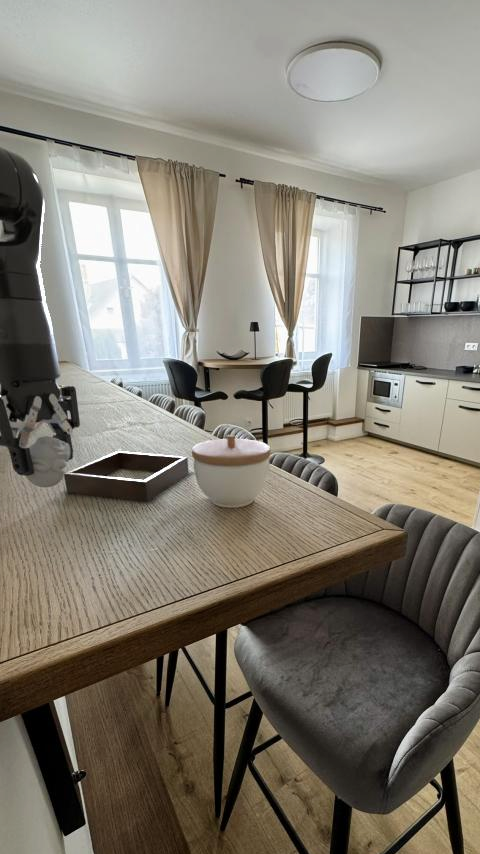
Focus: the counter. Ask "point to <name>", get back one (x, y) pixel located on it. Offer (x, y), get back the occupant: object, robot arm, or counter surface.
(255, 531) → the counter surface
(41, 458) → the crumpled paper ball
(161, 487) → the square wooden tray
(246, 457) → the lidded bowl
